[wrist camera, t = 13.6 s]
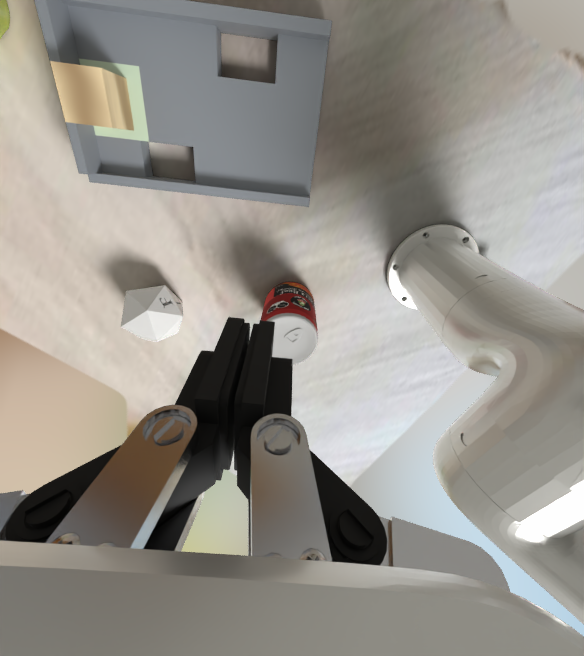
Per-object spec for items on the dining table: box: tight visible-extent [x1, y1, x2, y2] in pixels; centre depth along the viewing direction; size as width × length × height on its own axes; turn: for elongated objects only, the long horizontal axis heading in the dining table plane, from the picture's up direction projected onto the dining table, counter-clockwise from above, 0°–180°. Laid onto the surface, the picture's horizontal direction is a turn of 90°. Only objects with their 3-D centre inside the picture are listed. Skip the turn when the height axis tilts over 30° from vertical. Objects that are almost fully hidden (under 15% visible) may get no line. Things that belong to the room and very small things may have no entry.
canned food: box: [261, 282, 318, 365], centre depth 41 cm, size 8×8×11 cm
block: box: [50, 61, 134, 131], centre depth 29 cm, size 4×4×4 cm
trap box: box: [34, 0, 332, 207], centre depth 31 cm, size 26×16×5 cm, turn 84°
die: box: [121, 285, 183, 342], centre depth 42 cm, size 8×9×10 cm
